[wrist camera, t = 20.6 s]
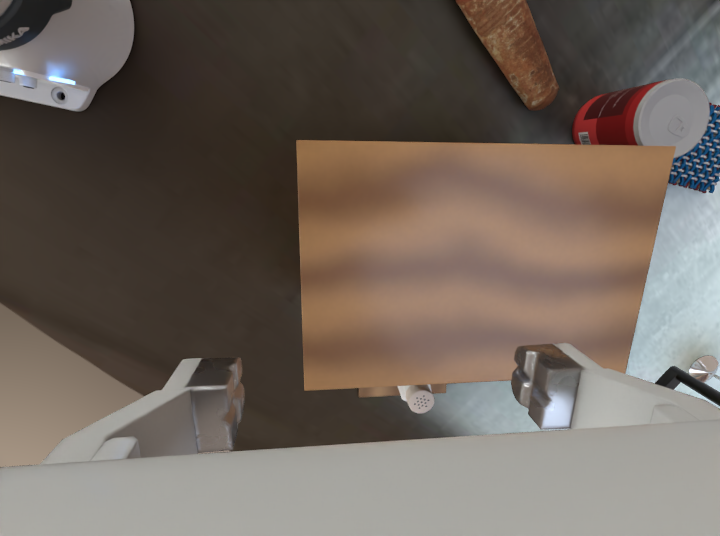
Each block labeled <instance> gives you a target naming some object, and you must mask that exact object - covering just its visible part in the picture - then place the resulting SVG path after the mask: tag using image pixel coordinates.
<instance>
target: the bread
mask: <svg viewBox="0 0 720 536" xmlns="http://www.w3.org/2000/svg"><path fill="white" fill-rule="evenodd" d="M455 1H456V3H457V4H458V5H459V6H460V8H461V10H462V12H463V13H464V15H465V17H466V18H467V20H468V22H469V23H470V25H471V26H472V28H473V29H474V31H475V33H476V34H477V35H478V37H479V38H480V40H481V42H482V43H483V44H484V46H485V47H486V49H487V50H488V52H489V53H490V55H491V56H492V57H493V59H494V60H495V62H496V63H497V64H498V66H499V68H500V69H501V71H502V72H503V73H504V75H505V77H506V78H507V80H508V81H509V83H510V84H511V86H512V87H513V88H514V90H515V91H516V93H517V94H518V95H519V97H520V98H521V99H522V101H523V102H524V104H525V105H526V107H527V108H528V109H529V110H541V109H544V108H545V107H547V106H548V105H549V104H550V103H552V101H553V100H554V99H555V97H556V95H557V92H558V90H559V86H558V84H557V81H556V79H555V76H554V74H553V71H552V68H551V65H550V62H549V59H548V56H547V53H546V51H545V48H544V46H543V42H542V40H541V38H540V35H539V33H538V31H537V28H536V26H535V23H534V20H533V17H532V15H531V12H530V9H529V7H528V4H527V2H526V0H455Z"/></svg>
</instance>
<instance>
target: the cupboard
mask: <svg viewBox="0 0 720 536" xmlns="http://www.w3.org/2000/svg"><path fill="white" fill-rule="evenodd" d="M296 144H297V175H298V206H299V237H300V268H301V299H302V330H303V361H304V390H305V391H307V390H327V389H347V388H367V387H387V386H407V385H427V384H447V383H467V382H488V381H508V380H511V379H512V372H513V371H514V370H515V369H516V368H517V366H518V365H517V364H516V362H515V361H514V355H515V351H516V349H517V347H519V346H525V345H540V344H558V343H568V344H571V345H572V346H573V347H575V348H576V349H577V350H579V351H580V352H582V353H583V354H584V355H586V356H587V357H588V358H590V359H591V360H593V361H594V362H595V363H597V364H598V365H599V366H601V367H602V368H603V369H607V368H609V369H612V370H615V371H618V372H621V373H624V374H625V372H626V367H627V363H628V358H629V354H630V349H631V345H632V341H633V336H634V332H635V327H636V323H637V318H638V314H639V309H640V305H641V301H642V296H643V292H644V287H645V283H646V278H647V274H648V269H649V265H650V261H651V256H652V252H653V247H654V243H655V238H656V234H657V229H658V225H659V220H660V216H661V212H662V207H663V203H664V198H665V194H666V189H667V185H668V180H669V176H670V172H671V167H672V163H673V158H674V154H675V149H676V146H635V145H573V144H511V143H449V142H387V141H324V140H297V141H296Z"/></svg>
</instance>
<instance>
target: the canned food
mask: <svg viewBox="0 0 720 536" xmlns="http://www.w3.org/2000/svg"><path fill="white" fill-rule="evenodd" d="M709 115H710V108H709V102H708V98H707V96H706V94H705V92H704V90H703V89H702V88H701V87H700V86H699V85H698V84H696V83H695V82H693V81H691V80H688V79H670V80H665V81H659V82H655V83H651V84H646V85H642V86H637V87H633V88H629V89H624V90H620V91H616V92H611V93H607V94H602V95H599V96H596V97H594V98H593V99H591V100H589V101H588V102H587V103H586V104H584V105H583V106H582V107H581V108H580V110H579V111H578V113H577V114H576V116H575V119H574V122H573V127H572V135H573V140H574V142H575V145H635V146H676V149H675V154H674V158H677V157H680V156H682V155H684V154H686V153H687V152H689V151H690V150H691V149H693V148H694V147H695V146H696V145H697V143H698V142H699V141H700V140H701V138H702V137H703V135H704V133H705V131H706V128H707V125H708V122H709Z"/></svg>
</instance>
